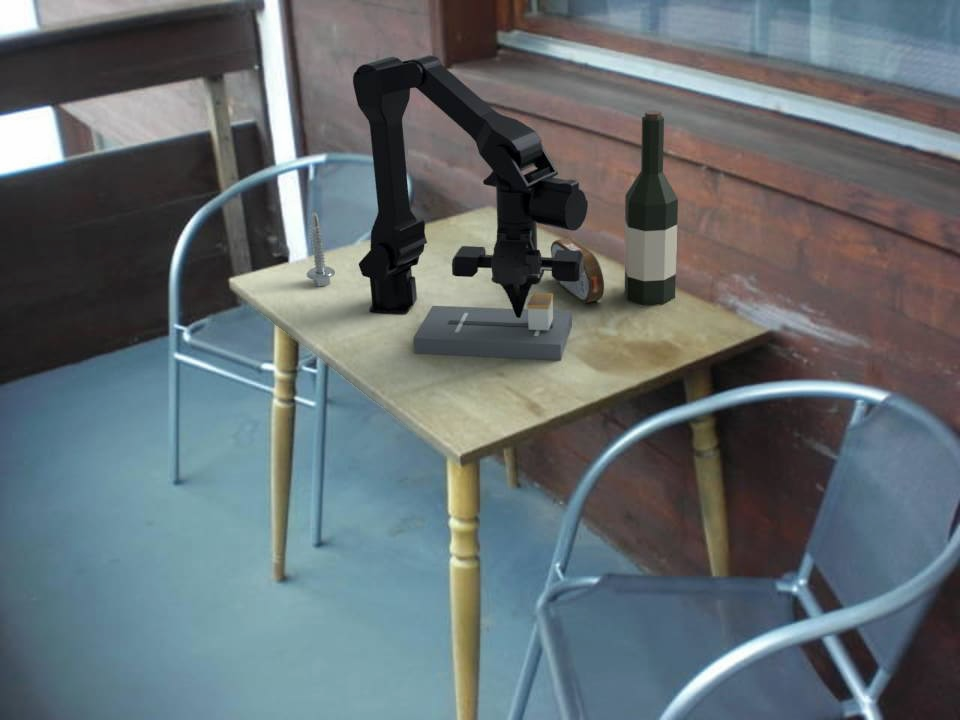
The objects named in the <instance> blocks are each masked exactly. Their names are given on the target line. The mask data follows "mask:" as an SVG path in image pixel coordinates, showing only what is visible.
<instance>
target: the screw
mask: <svg viewBox="0 0 960 720" xmlns="http://www.w3.org/2000/svg"><path fill="white" fill-rule="evenodd" d="M310 226H311V227H310V228H309V229H310V233H311V234H310V236H311V238H310V239H311V240H312V241H311V243H312V244H311V246H313V247H312V248H311V249H313V250H312V252H313V254H312V255H313V259H314V260H313V262H314V264H313V265H314V267H313V268H310V269H309V270H308V271H307V272H306V277H307V278H308V279H311V280H313V285H314V286H316V287H318V288H319V287H320V288H321V287H326V286H328V285H329V284H331V279H330V278H332V277H334V276H335V275H336V271H335V269H334V268H333V267H330V266H326V264H325V263H326V261H325V259H326V258H325V254H324V252H325V251H324V244H323V243H324V241H322V240H323V238H322V237H323V234H322V228H321V224H320V220H319V216H318V213H316V212H315V211H313V212H312V213H311V215H310Z"/></svg>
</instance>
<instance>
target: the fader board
mask: <svg viewBox="0 0 960 720" xmlns="http://www.w3.org/2000/svg"><path fill="white" fill-rule="evenodd" d="M572 316H573V314H572V310H554V309H553V320H552V322H551V325H550V328H549V330H529V326H528V308H525V309H523V312H522V315H521V317H520V318H517V317H516V315H515V312H514V310H513V308H506V307H505V308H503V307H477V306H476V307H475V306H451V305H450V306H449V305H431V308H430V309H429V311H428V312H427V314H426V316H425V317H424V319H423V320H422V321H423V322H422V323H421V324H420V326H419V328H418V330H417V331H416V333H415V335H414V336H413V338H412V339H413V351H414V354H421V355H423V354H425V355H444V356H445V355H446V356H464V357H465V356H466V357H488V358H490V357H491V358H510V359H527V360H528V359H529V360H530V359H531V360H548V361H550V360H552V361H562V358H563V355H564V352H565V349H566V345H567V341H568V340H569V336H570V333H571V329H572V327H573V324H572V322H573V321H572V320H573V318H572Z"/></svg>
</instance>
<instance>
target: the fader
mask: <svg viewBox="0 0 960 720" xmlns="http://www.w3.org/2000/svg"><path fill="white" fill-rule="evenodd" d="M553 298H554V294H553V293H545V292H544V293H543V292H532V293H531V296H530V298H529V300H528V302H527V308H526V309H528V326H529V330H549V328H550V325H551V322H552V320H553V310H554V308H553V307H554V304H553V302H554V299H553Z"/></svg>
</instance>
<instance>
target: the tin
mask: <svg viewBox="0 0 960 720" xmlns="http://www.w3.org/2000/svg"><path fill="white" fill-rule="evenodd" d="M557 250H572V251H580V252H581V253H582V254H583V256H584V268H583V271H582V274H581V277H580V280H579V281H576V282H568V281H557V282H558V283H559V284H560V286H561V287H563V288H564V290H566V291H567V292H568V293H570V294H571V295H572V296H573V297H575V298H576V299H577V300H578V301H580V302H581V303H583V304H588V303H591V302H597V301H600V300H601V299H602V298H603V296H604V292H605V281H604V274H603V270H602V268H601V264H600V262H599V261H598V259H597V257H596V255H594V253H593V252H592V251H591V250H589V249H588V248H586V247H585V246H583V245H582V244H581V243H580V242H578V241H577V240H575V239H574V238H573V237H571V236H566V237H564V238H560V239H557V240H554V241H553V242H552V244H551V246H550V252H551V253H550V254H551V256H550V258H554V256H555V254H556V251H557Z"/></svg>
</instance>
